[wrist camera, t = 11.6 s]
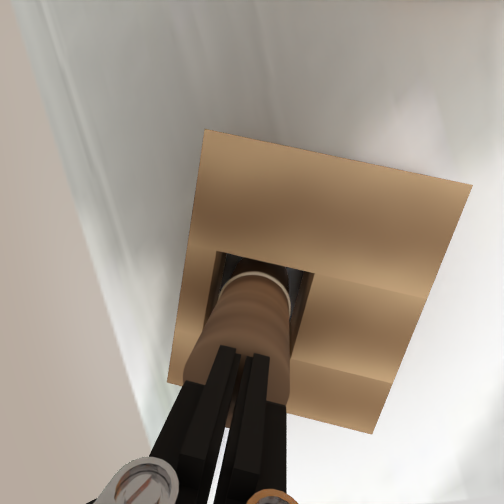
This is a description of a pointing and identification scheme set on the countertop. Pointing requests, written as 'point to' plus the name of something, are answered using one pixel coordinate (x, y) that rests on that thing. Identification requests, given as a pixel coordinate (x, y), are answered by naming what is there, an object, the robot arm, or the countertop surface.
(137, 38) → the countertop surface
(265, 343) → the peg
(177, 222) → the countertop surface
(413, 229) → the board
